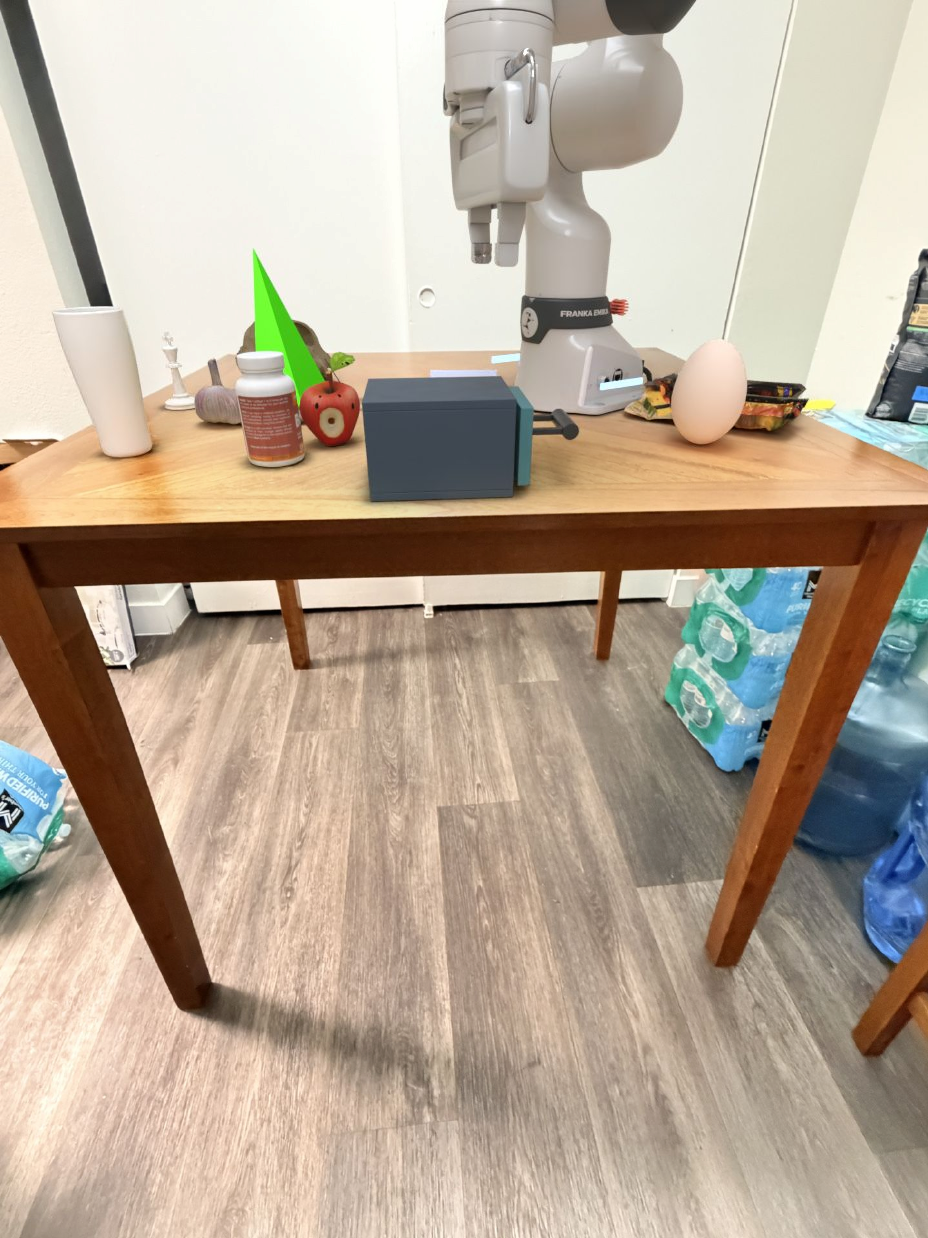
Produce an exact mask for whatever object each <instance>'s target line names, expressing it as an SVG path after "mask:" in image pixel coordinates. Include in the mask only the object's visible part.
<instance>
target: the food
mask: <svg viewBox="0 0 928 1238" xmlns="http://www.w3.org/2000/svg"><path fill="white" fill-rule="evenodd" d="M678 374H679V373H678ZM678 374H677V373H671V374H668V375H665V376H663V377H658V378H654V379H652V382H649V381H648V380H647V379H646V382H644V383H643V384H642V389H643V395H642V396H641V399H640V400H639V401H635V402H632V403H630V404H629V405H627V406H626V407H625V408H624V412H625V413H628V414H631V415H633V416H634V415H635V416H638V417H641V418H645V419H646V421H651V420H658V419H659V420H663V419H664V420H665V419H667V420H673V417H672V412H671V399H672V393H673V389H674V385H675V382H676V380H677V377H678ZM806 390H807V387H806V386H805V385H803V384H802V383H797V382H781V381H780V382H779V381H766V380H765V381H764V380H752V379H747V393H746V399H745V404H744V407H743V410H742V412H741V414H740V417H739V418H738V420H737V421H736V423H735V424H734V426H733V427H735V428H738V429H746V430H753V429H754V430H755V429H766V430H767V431H768V432H771V431H775V430H778V429H781V428H782V427H784V425H786V424H787V423H789V422H792V421H794V420H795V419H796V418H798V417H799V416H800V415H801V414H802V411H803V409H804V408H806V406H807V404H808V402H809V401H810V398H809V397H807V398H806V397H805V398H799V397H801V396H802V394H804V393H805V391H806Z"/></svg>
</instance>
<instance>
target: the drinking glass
mask: <svg viewBox="0 0 928 1238" xmlns="http://www.w3.org/2000/svg"><path fill="white" fill-rule="evenodd" d="M51 315H52V317H53V322H54V325H55V329H56V333H57V337H58V339H59V343H60V346H61V349H62V351H63V354H64V357H65V359H66V362H67V364H68V367H69V369H70V372H71V374H72V378H73V379H74V381H75V384H76V386H77V389H78V391H79V393H80V396H81V399H82V401H83V403H84V406H85V408H86V411H87V413H88V416H89V418H90V421H91V423H92V425H93V428H94V431H95V433H96V436H97V439H98V442H99V445H100V448H101V451H102V453H103V454H104V455H105V456H108V457H111V458H131V457H138V456H141V455H144V454H146V453H149V452H150V451H151V450H152V448H153V440H152V437H151V432H150V428H149V424H148V419H147V413H146V408H145V407H146V406H145V402H144V396H143V390H142V385H141V379H140V374H139V367H138V362H137V357H136V351H135V346H134V343H133V339H132V334H131V331H130V328H129V324H128V321H127V318H126V315H125V311H124V309H123V307H120V306H111V305H110V306H108V305H107V306H105V305H104V306H101V305H100V306H99V305H98V306H78V307H67V308H66V307H65V308H59V309H54V310H52V312H51Z"/></svg>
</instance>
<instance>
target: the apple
mask: <svg viewBox="0 0 928 1238" xmlns="http://www.w3.org/2000/svg"><path fill="white" fill-rule="evenodd" d="M330 357H331V358H330V367H331V368H330V370H329V369H328V371H327V372H326V376H327V378H328V381H325V382H322V383H319V384H316V385H313V386H311V387H309V388H307V389H306V390H305V391H304V393H303V395H302V397H301V399H300V404H299V409H300V414H301V417H302V419H303V421H304V422H303V423H304V424H305V425H306V427H307V428H308V430H309V431H310V432H311V433H312V434H313V436H314V437H315V438H316V439H317V440H318V441H319V442H320V443H321V444H323V445H324V446H327V447H335V446H341V445H346V444H348V443H349V442H350V441H351V439H352V437H353V435H354V432H355V428H356V426H357V422H358V420H359V418H360V417H359V416H360V412H361V411H360V410H361V401H360V397H359V393H358V392H357V390H356V389H355V388H354V387H353V386H351V385H349V384H347V383H345V382H341V381H340V382H339V381H338V380H334V378H333V377H334V376H333V374H334V373H335V372H336V371H338V370H341V369H343V368H346V367H349V366H350V365H352V364H354V362H356V359H355V357H354V355H351V354H347V353H344V352H342V351H338V352H337V351H336V352H334V353H333V354H332V356H330ZM333 372H334V373H333Z"/></svg>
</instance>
